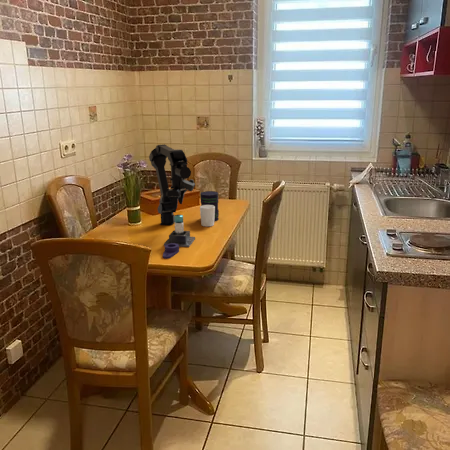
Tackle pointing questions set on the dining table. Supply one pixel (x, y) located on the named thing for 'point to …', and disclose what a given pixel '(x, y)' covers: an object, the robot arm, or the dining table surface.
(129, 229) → the dining table surface
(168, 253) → the lever
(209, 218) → the white cup
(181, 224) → the teal and silver cylinder
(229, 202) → the dining table surface
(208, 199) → the storage jar
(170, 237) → the docking mount
